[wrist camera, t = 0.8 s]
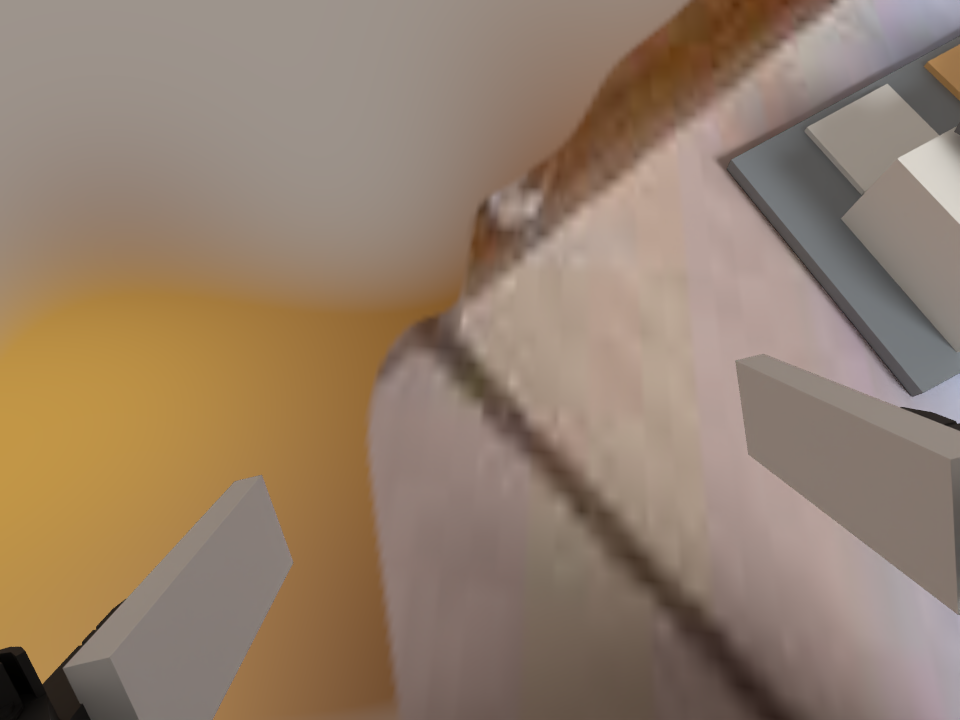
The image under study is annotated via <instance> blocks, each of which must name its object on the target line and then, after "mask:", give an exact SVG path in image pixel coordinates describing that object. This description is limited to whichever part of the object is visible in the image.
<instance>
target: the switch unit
mask: <svg viewBox="0 0 960 720" xmlns="http://www.w3.org/2000/svg"><path fill="white" fill-rule="evenodd" d="M959 122H960V36H959V37H957V38H955V39H953V40H951V41H950V42H948V43H946V44H944V45H942V46H940V47H938V48H937V49H935V50H933V51H931V52H929V53H927V54H926V55H924V56H922V57H920V58H918V59H916V60H914V61H913V62H911V63H909V64H907V65H905V66H903V67H902V68H900V69H898V70H896V71H894V72H892V73H890V74H889V75H887V76H885V77H883V78H881V79H879V80H878V81H876V82H874V83H872V84H870V85H868V86H866V87H865V88H863V89H861V90H859V91H857V92H855V93H854V94H852V95H850V96H848V97H846V98H844V99H842V100H841V101H839V102H837V103H835V104H833V105H831V106H830V107H828V108H826V109H824V110H822V111H820V112H818V113H817V114H815V115H813V116H811V117H809V118H807V119H806V120H804V121H802V122H800V123H798V124H796V125H794V126H793V127H791V128H789V129H787V130H785V131H783V132H782V133H780V134H778V135H776V136H774V137H772V138H770V139H769V140H767V141H765V142H763V143H761V144H759V145H758V146H756V147H754V148H752V149H750V150H748V151H747V152H745V153H743V154H741V155H739V156H737V157H735V158H734V159H732V160H731V161H730V163H729V166H728V168H727V170H728V171H729V172H730V173H731V175H732V176H733V177H734V178H735V180H736V181H737V182H738V183H739V184H740V186H741V187H742V188H743V189H744V191H745V192H746V193H747V194H748V195H749V197H750V198H751V199H752V200H753V202H754V203H755V204H756V205H757V207H758V208H759V209H760V210H761V211H762V213H763V214H764V215H765V216H766V218H767V219H768V220H769V221H770V223H771V224H772V225H773V226H774V227H775V229H776V230H777V231H778V232H779V234H780V235H781V236H782V237H783V238H784V240H785V241H786V242H787V243H788V245H789V246H790V247H791V248H792V250H793V251H794V252H795V253H796V254H797V256H798V257H799V258H800V259H801V261H802V262H803V263H804V264H805V266H806V267H807V268H808V269H809V270H810V272H811V273H812V274H813V275H814V277H815V278H816V279H817V280H818V282H819V283H820V284H821V285H822V286H823V288H824V289H825V290H826V291H827V293H828V294H829V295H830V296H831V297H832V299H833V300H834V301H835V302H836V304H837V305H838V306H839V307H840V309H841V310H842V311H843V312H844V313H845V315H846V316H847V317H848V318H849V320H850V321H851V322H852V323H853V325H854V326H855V327H856V328H857V329H858V331H859V332H860V333H861V334H862V336H863V337H864V338H865V339H866V340H867V342H868V343H869V344H870V345H871V347H872V348H873V349H874V350H875V352H876V353H877V354H878V355H879V356H880V358H881V359H882V360H883V361H884V363H885V364H886V365H887V366H888V368H889V369H890V370H891V371H892V372H893V374H894V375H895V376H896V377H897V379H898V380H899V381H900V382H901V383H902V385H903V386H904V387H905V388H906V390H907V391H908V392H909V393H910V395H911V396H912V397H913V396H916V395H919V394H922V393H924V392H926V391H928V390H930V389H931V388H933V387H935V386H937V385H939V384H941V383H942V382H944V381H946V380H948V379H950V378H951V377H953V376H955V375H957V374H959V373H960V135H959V134H957V133H955V132H954V131H955V129H956V127H957V126H958V124H959Z"/></svg>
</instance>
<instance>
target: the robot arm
mask: <svg viewBox="0 0 960 720" xmlns="http://www.w3.org/2000/svg"><path fill="white" fill-rule="evenodd" d="M735 362H736V369H737V376H738V384H739V391H740V398H741V405H742V412H743V419H744V427H745V434H746V441H747V448H748V455H750V456H751V457H752V458H754V459H755V460H756V461H758V462H759V463H760V464H762V465H763V466H764V467H765V468H767V469H768V470H769V471H771V472H772V473H773V474H775V475H776V476H777V477H779V478H780V479H781V480H782V481H784V482H785V483H786V484H788V485H789V486H790V487H792V488H793V489H794V490H796V491H797V492H798V493H799V494H801V495H802V496H803V497H805V498H806V499H807V500H809V501H810V502H811V503H813V504H814V505H815V506H816V507H818V508H819V509H820V510H822V511H823V512H824V513H826V514H827V515H828V516H830V517H831V518H832V519H833V520H835V521H836V522H837V523H839V524H840V525H841V526H843V527H844V528H845V529H847V530H848V531H849V532H850V533H852V534H853V535H854V536H856V537H857V538H858V539H860V540H861V541H862V542H864V543H865V544H866V545H867V546H869V547H870V548H871V549H873V550H874V551H875V552H877V553H878V554H879V555H881V556H882V557H883V558H884V559H886V560H887V561H888V562H890V563H891V564H892V565H894V566H895V567H896V568H898V569H899V570H900V571H901V572H903V573H904V574H905V575H907V576H908V577H909V578H911V579H912V580H913V581H915V582H916V583H917V584H918V585H920V586H921V587H922V588H924V589H925V590H926V591H928V592H929V593H930V594H932V595H933V596H934V597H935V598H937V599H938V600H939V601H941V602H942V603H943V604H945V605H946V606H947V607H949V608H950V609H951V610H952V611H954V612H955V613H956V614H958V615H960V424H957V423H956V421H954V420H951V419H948V418H946V417H943V416H940V415H938V414H935V413H932V412H927V411H922V410H916V409H911V408H905V407H897V406H895V405H892V404H890V403H887V402H884V401H882V400H879V399H877V398H874V397H872V396H869V395H867V394H864V393H862V392H859V391H857V390H854V389H851V388H849V387H846V386H844V385H841V384H839V383H836V382H834V381H831V380H829V379H826V378H823V377H821V376H818V375H816V374H813V373H811V372H808V371H806V370H803V369H801V368H798V367H796V366H793V365H790V364H788V363H785V362H783V361H780V360H778V359H775V358H773V357H770V356H768V355H765V354H761V355H757V356H753V357H749V358H744V359H740V360H736V361H735ZM292 564H293V560H292V558H291V555H290V552H289V549H288V546H287V543H286V541H285V538H284V535H283V532H282V530H281V527H280V524H279V521H278V518H277V516H276V513H275V510H274V507H273V505H272V502H271V499H270V496H269V494H268V491H267V488H266V485H265V482H264V480H263V477H262V475H259V476H255V477H251V478H247V479H242V480H239V481H235V482H234V483H233V484H232V485H231V486H230V487H229V488H228V489H227V490H226V491H225V492H224V494H223V495H222V496H221V497H220V498H219V499H218V500H217V501H216V502H215V503H214V504H213V505H212V507H211V508H210V509H209V510H208V511H207V512H206V513H205V514H204V515H203V516H202V517H201V519H200V520H199V521H198V522H197V523H196V524H195V525H194V526H193V527H192V528H191V530H189V532H188V533H187V534H186V535H185V536H184V537H183V538H182V539H181V540H180V541H179V542H178V543H177V545H176V546H175V547H174V548H173V549H172V550H171V551H170V552H169V553H168V554H167V555H166V557H165V558H164V559H163V560H162V561H161V562H160V563H159V564H158V565H157V566H156V567H155V568H154V570H153V571H152V572H151V573H150V574H149V575H148V576H147V577H146V578H145V579H144V581H143V582H142V583H141V584H140V585H139V586H138V587H137V588H136V589H135V590H134V591H133V592H132V594H131V595H130V596H129V597H128V598H127V599H125V600H124V601H123V602H121V603H120V604H119V605H117V606H116V607H115V608H113V609H112V610H111V612H110V613H109V614H108V615H107V616H106V617H105V618H104V619H103V620H102V621H101V622H100V623H99V625H97V627H96V630H93V631H92V632H91V633H90V634H89V635H88V636H87V637H86V638H85V639H84V640H83V642H82V645H81V646H78V647H77V648H76V649H75V650H74V651H73V652H72V653H71V654H70V655H69V657H68V658H67V659H66V660H65V661H64V662H63V663H62V664H61V665H60V666H59V667H58V668H57V669H56V670H55V671H54V673H53V674H52V675H51V676H50V677H49V678H48V679H47V680H46V681H45V682H44V683H43V684H42V683H41V681H40V679H39V677H38V676H37V673H36V672H35V669H34V667H33V666H32V664H31V662H30V660H29V658H28V656H27V654H26V652H25V650H24V649H23V648H22V647H8V648H5V649H1V650H0V720H213V718H214V716H215V714H216V712H217V710H218V708H219V706H220V704H221V702H222V700H223V698H224V696H225V694H226V692H227V690H228V689H229V687H230V685H231V683H232V681H233V679H234V677H235V675H236V673H237V671H238V669H239V667H240V665H241V663H242V661H243V659H244V657H245V655H246V654H247V651H248V650H249V648H250V645H251V644H252V642H253V640H254V638H255V636H256V634H257V632H258V630H259V628H260V626H261V624H262V622H263V620H264V618H265V617H266V615H267V613H268V611H269V609H270V607H271V605H272V603H273V601H274V599H275V597H276V595H277V593H278V591H279V589H280V587H281V585H282V583H283V581H284V580H285V578H286V575H287V574H288V572H289V570H290V568H291V566H292Z"/></svg>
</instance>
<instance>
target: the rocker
mask: <svg viewBox="0 0 960 720" xmlns="http://www.w3.org/2000/svg"><path fill="white" fill-rule="evenodd" d="M954 132H955V133H957V134H959V135H960V122H959V124H958V126H957V127H956V129H955V131H954Z"/></svg>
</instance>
